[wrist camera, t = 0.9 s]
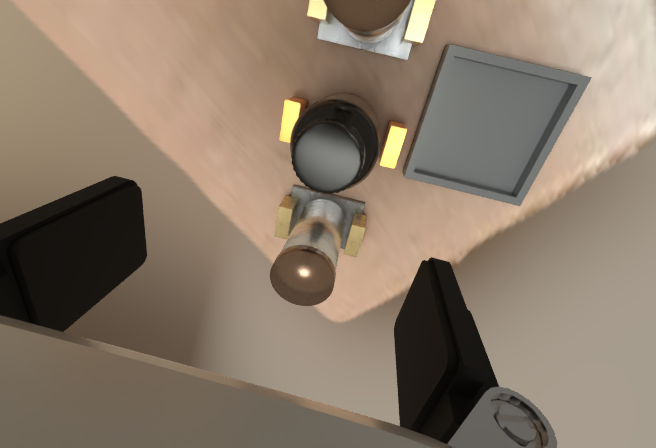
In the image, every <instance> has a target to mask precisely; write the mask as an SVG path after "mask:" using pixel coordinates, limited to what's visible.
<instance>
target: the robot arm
mask: <svg viewBox="0 0 656 448" xmlns="http://www.w3.org/2000/svg"><path fill="white" fill-rule="evenodd" d="M146 257H147V250H146V239H145V227H144V215H143V203H142V192H141V189H140V187H138V186H137V184H136V182H134V181H133V180H129V179H125V178H121V177H117V176H113V177H110V178H108V179H105V180H103V181H101V182H98V183H96V184H94V185H91V186H89V187H86V188H84V189H82V190H79V191H77V192H74V193H72V194H70V195H67V196H65V197H63V198H60V199H58V200H55V201H53V202H51V203H48V204H46V205H43V206H41V207H39V208H36V209H34V210H32V211H29V212H27V213H24V214H22V215H20V216H17V217H15V218H13V219H10V220H8V221H5V222H3V223H1V224H0V448H557V440H556V437H555V433H554V431H553V429H552V427H551V425H550V423H549V421H548V420H547V419H546V417H545V416H544V415H543V414H542V412H541V411H540V410H539V409H538V408H537V407H536V406H535V405H534V404H533V403H532V402H530V401H529V400H528V399H526V398H525V397H524V396H522V395H520V394H519V393H517V392H515V391H513V390H510V389H508V388H503V387H499V385H498V383H497V380H496V377H495V375H494V372H493V369H492V367H491V364H490V361H489V359H488V356H487V354H486V351H485V348H484V346H483V343H482V341H481V338H480V335H479V333H478V330H477V327H476V325H475V322H474V319H473V317H472V314H471V313H470V311H469V310H468V309H467V307H466V304H465V302H464V299H463V296H462V294H461V291H460V288H459V286H458V283H457V280H456V277H455V275H454V272H453V269H452V267H451V264H450V262H447V261H443V260H439V259H435V258H432V257H431V258H430V259H429V260H428V261H425V260H423V261H422V263H421V265H420V267H419V269H418V271H417V274H416V276H415V278H414V281H413V283H412V285H411V287H410V290H409V292H408V294H407V297H406V299H405V301H404V303H403V306H402V308H401V310H400V312H399V315H398V317H397V319H396V322H395V326H394V338H395V354H396V369H397V385H398V400H399V416H400V426H397V425H394V424H391V423H388V422H384V421H381V420H378V419H374V418H371V417H368V416H364V415H361V414H357V413H354V412H350V411H347V410H344V409H341V408H337V407H334V406H331V405H327V404H324V403H320V402H316V401H312V400H309V399H306V398H302V397H298V396H295V395H291V394H288V393H284V392H280V391H277V390H273V389H270V388H266V387H263V386H259V385H255V384H252V383H248V382H245V381H241V380H238V379H234V378H230V377H227V376H223V375H219V374H216V373H212V372H209V371H204V370H201V369H198V368H194V367H190V366H187V365H183V364H179V363H176V362H172V361H168V360H165V359H161V358H157V357H154V356H150V355H146V354H143V353H139V352H135V351H131V350H128V349H124V348H121V347H117V346H113V345H110V344H106V343H102V342H98V341H95V340H91V339H87V338H83V337H80V336H76V335H72V334H68V333H65V332H64V331H65V330H66V329H67V328H68V327H70V326H71V325H72V324H73V323H74V322H75V321H77V320H78V319H79V318H80V317H81V316H82V315H84V314H85V313H86V312H87V311H88V310H90V309H91V308H92V307H93V306H94V305H96V304H97V303H98V302H99V301H100V300H101V299H102V298H104V297H105V296H106V295H107V294H108V293H110V292H111V291H112V290H113V289H114V288H115V287H116V286H118V285H119V284H120V283H121V282H123V281H124V280H125V279H126V278H127V277H128V276H130V275H131V274H132V273H133V272H134V271H135V270H137V269H138V268H139V267H140V266H141V265H142V264H143V263H144V262H145V260H146Z"/></svg>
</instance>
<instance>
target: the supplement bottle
mask: <svg viewBox="0 0 656 448" xmlns="http://www.w3.org/2000/svg"><path fill="white" fill-rule="evenodd" d="M379 148H380V139H379V124H378V119H377V116H376V114H375V112H374V110H373V109H372V107H371V106H370V105H369V104H368V103H367V102H366V101H365V100H363V99H362V98H360V97H358V96H356V95H352V94H345V93H342V94H336V95H332V96H330V97H327V98H325V99H323V100H321V101H318V102H316V103H314V104H313V105H311V106H310V107H308V108H307V109H306V110H305V111H304V112H303V113H302V114H301V115H300V116H299V117H298V119H297V120H296V122H295V124H294V126H293V129H292V132H291V137H290V151H291V157H292V164H293V170H294V171H295V172H296V176H297V177H299V178H300V181H301V182H303V183H304V184H305V186H307V187H310V189H311V190H315V191H317V192H322V193H324V194H326V193H330V194H332V193H334V192H336V193H338V192H340V191H343V190H345V189H348V188H351V187H353V186H355V185H357V184H359V183H360V182H362V181H363V180H364V179H365V178H366V177H367V176H368V175H369V174H370V173H371V171H372V170H373V168H374V166H375V164H376V161H377V158H378V155H379Z"/></svg>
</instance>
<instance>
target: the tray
mask: <svg viewBox="0 0 656 448" xmlns="http://www.w3.org/2000/svg"><path fill="white" fill-rule="evenodd" d="M591 78H592V77H587V76H583V75H579V74H575V73H570V72H566V71H562V70H558V69H554V68H549V67H545V66H541V65H537V64H532V63H528V62H524V61H520V60H515V59H511V58H507V57H503V56H498V55H494V54H490V53H486V52H481V51H477V50H473V49H469V48H464V47H460V46H456V45H452V44H449V45H446V46H445V48H444V51H443V54H442V57H441V60H440V63H439V66H438V69H437V72H436V75H435V78H434V81H433V84H432V87H431V90H430V93H429V96H428V99H427V101H426V104H425V107H424V110H423V113H422V116H421V119H420V122H419V125H418V128H417V131H416V134H415V137H414V140H413V143H412V146H411V149H410V152H409V155H408V157H407V160H406V163H405V166H404V169H403V175H404V177H405V178H409V179H413V180H417V181H421V182H425V183H429V184H433V185H437V186H441V187H446V188H450V189H454V190H458V191H462V192H466V193H470V194H474V195H478V196H482V197H486V198H490V199H494V200H498V201H502V202H506V203H510V204H514V205H518V206H520V205H521V203H522V202H523V200H524V198H525V196H526V194H527V193H528V191H529V189H530V187H531V185H532V184H533V182H534V180H535V178H536V177H537V175H538V173H539V171H540V169H541V168H542V166H543V164H544V162H545V160H546V159H547V157H548V155H549V153H550V151H551V150H552V148H553V146H554V144H555V142H556V141H557V139H558V137H559V135H560V134H561V132H562V130H563V128H564V126H565V125H566V123H567V121H568V119H569V117H570V116H571V114H572V112H573V110H574V108H575V107H576V105H577V103H578V101H579V99H580V98H581V96H582V94H583V92H584V91H585V89H586V87H587V85H588V83H589V82H590V80H591Z"/></svg>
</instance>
